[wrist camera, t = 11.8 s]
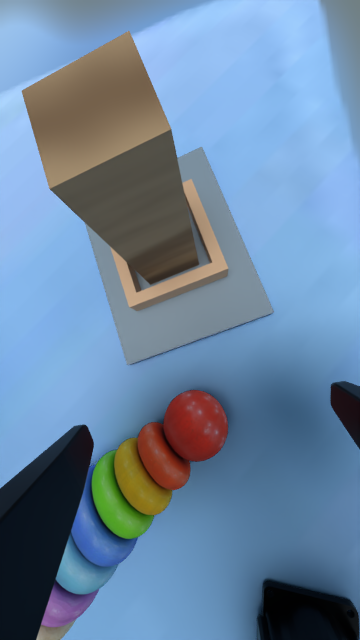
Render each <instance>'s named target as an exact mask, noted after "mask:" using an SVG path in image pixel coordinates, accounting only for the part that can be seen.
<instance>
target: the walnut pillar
mask: <svg viewBox="0 0 360 640" xmlns="http://www.w3.org/2000/svg"><path fill="white" fill-rule="evenodd" d="M22 94H23V97H24V101H25V104H26V108H27V111H28V115H29V118H30V122H31V125H32V129H33V132H34V136H35V139H36V143H37V146H38V150H39V153H40V157H41V160H42V164H43V168H44V171H45V175H46V178H47V182H48V185H49V189H50V190H51V191H52V192H53V193H54V194H56V195H57V196H58V197H59V198H60V199H61V200H62V201H63V202H64V203H65V204H66V205H67V206H68V207H69V208H70V209H71V210H72V211H73V212H74V213H75V214H77V215H78V216H79V217H80V218H81V219H82V220H83V221H84V222H85V223H86V224H87V225H88V226H89V227H90V228H91V229H92V230H93V231H94V232H95V233H97V234H98V235H99V236H100V237H101V238H102V239H103V240H104V241H105V242H106V243H107V244H108V245H109V246H110V247H111V248H112V249H113V250H114V251H115V252H116V253H118V254H119V255H120V256H121V257H122V258H123V259H124V260H125V261H126V262H127V263H128V264H129V265H130V266H131V267H132V268H133V269H134V270H135V271H136V272H137V273H139V274H140V275H141V276H142V277H143V278H144V279H145V280H146V281H147V282H148V283H149V284H150V285H152V284H154V283H156V282H159V281H161V280H164V279H166V278H168V277H171V276H173V275H176V274H178V273H181V272H183V271H185V270H188V269H190V268H193V267H195V266H198V265H199V261H198V256H197V251H196V247H195V242H194V237H193V232H192V227H191V222H190V218H189V213H188V208H187V203H186V198H185V194H184V189H183V184H182V179H181V174H180V169H179V165H178V160H177V155H176V150H175V145H174V140H173V136H172V131H171V128H170V125H169V123H168V120H167V118H166V116H165V113H164V111H163V109H162V106H161V104H160V102H159V99H158V97H157V95H156V92H155V90H154V88H153V85H152V83H151V81H150V78H149V76H148V74H147V71H146V69H145V67H144V64H143V62H142V60H141V57H140V55H139V53H138V50H137V48H136V46H135V43H134V41H133V38H132V36H131V34H130V32H129V31H128V32H126V33H124V34H123V35H121V36H119V37H117V38H115V39H114V40H112V41H110V42H108V43H106V44H105V45H103V46H101V47H99V48H98V49H96V50H94V51H92V52H91V53H88V54H87V55H85V56H83V57H81V58H80V59H78V60H76V61H74V62H72V63H71V64H69V65H67V66H65V67H63V68H62V69H60V70H58V71H56V72H54V73H53V74H51V75H49V76H47V77H45V78H44V79H42V80H40V81H38V82H36V83H35V84H33V85H31V86H29V87H27V88H26V89H24V90H22Z"/></svg>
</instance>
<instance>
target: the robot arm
mask: <svg viewBox="0 0 360 640" xmlns="http://www.w3.org/2000/svg"><path fill="white" fill-rule="evenodd" d="M330 401H331V406H332V408H333V410H334V412H335V413H336V415H337V416H338V418H339V419H340V421H341V422H342V424H343V425H344V427H345V428H346V430H347V431H348V433H349V434H350V436H351V437H352V439H353V440H354V442H355V443H356V445H357V446H358V448H359V449H360V386H357V385H354V384H352V383H349V382H346V381H341V382H335V383H332V384H331V400H330ZM93 447H94V442H93V439H92V436H91V434H90V432H89V429H88V427H87V426H86V425H78V426H74V427H73V428H71V429H70V430H69V431H68V432H67V433H66V434H64V435H63V436H62V437H61V438H60V439H58V440H57V441H56V442H55V443H54V444H52V445H51V446H50V447H49V448H48V449H47V450H45V451H44V452H43V453H42V454H41V455H39V456H38V457H37V458H36V459H35V460H34V461H32V462H31V463H30V464H29V465H28V466H26V467H25V468H24V469H23V470H22V471H20V472H19V473H18V474H17V475H16V476H15V477H13V478H12V479H11V480H10V481H9V482H7V483H6V484H5V485H4V486H3V487H2V488H0V640H36V639H37V636H38V633H39V630H40V627H41V623H42V620H43V617H44V614H45V611H46V608H47V605H48V602H49V598H50V595H51V592H52V589H53V586H54V583H55V580H56V577H57V573H58V570H59V567H60V564H61V561H62V558H63V555H64V552H65V548H66V545H67V542H68V539H69V536H70V533H71V530H72V527H73V523H74V520H75V517H76V514H77V511H78V508H79V505H80V502H81V498H82V495H83V491H84V487H85V483H86V479H87V474H88V470H89V465H90V461H91V456H92V452H93ZM268 590H271V591H272V592H268ZM348 610H351V611H348ZM257 640H359V615H358V612H357V610H356V608H355V606H354V604H353V603H352V602H351V601H349V600H347V599H342V598H338V597H334V596H330V595H326V594H321V593H317V592H313V591H309V590H305V589H300V588H296V587H292V586H288V585H284V584H279V583H275V582H271V581H266V582H264V584H263V591H262V615H261V614H259V616H258V617H257Z"/></svg>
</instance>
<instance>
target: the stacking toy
mask: <svg viewBox="0 0 360 640" xmlns="http://www.w3.org/2000/svg"><path fill="white" fill-rule="evenodd" d="M227 434H228V422H227V417H226V414H225V412H224V409H223V408H222V406H221V405H220V403H219V402H218V401H217V400H216V399H215V398H214V397H213V396H211V395H210V394H208V393H206V392H204V391H199V390H190V391H186V392H183V393H181V394H179V395H178V396H176V397H175V398H174V399H173V400H172V402H171V403H170V404H169V406H168V408H167V410H166V413H165V416H164V423H163V424H161V423H158V422H151V423H148V424H147V425H145V426H144V427H143V428H142V430H141V431H140V433H139V436H138V438H130V439H127V440H126V441H124V442H123V443H122V444H121V445H120V446H119V448H118V449H117V450H113V451H110V452H108V453H106V454H105V455H104V456H102V457H101V459H100V460H99V461H98V463H97V464H96V465H93V466H91V467H89V470H88V474H87V479H86V483H85V487H84V491H83V495H82V498H81V502H80V505H79V508H78V511H77V514H76V517H75V520H74V523H73V527H72V530H71V533H70V536H69V539H68V542H67V545H66V548H65V552H64V555H63V558H62V561H61V564H60V567H59V570H58V573H57V577H56V580H55V583H54V586H53V589H52V592H51V595H50V598H49V602H48V605H47V608H46V611H45V614H44V617H43V620H42V623H41V627H40V630H39V633H38V636H37V639H36V640H60V639H61V638H62V637H63V636H64V635H65V634H66V633H67V632H68V630H69V629H70V628H71V626H72V625H73V623H74V622H75V620H76V619H77V618H78V617H79V616H80V615H82V614H83V613H84V611H85V610H86V609H87V608H88V607H89V606H90V604H91V603H92V601H93V600H94V598H95V596H96V595H97V593H98V591H99V589H100V588H101V587H102V586H103V585H104V584H106V583H107V581H108V580H109V579H110V578H111V576H112V575H113V573H114V572H115V570H116V568H117V566H118V564H119V563H120V562H122V561H123V560H124V559H126V558H127V556H128V555H129V554H130V553H131V551H132V550H133V548H134V546H135V544H136V541H137V539H138V537H139V536H140V535H142V534H143V533H145V532H146V531H147V529H148V528H149V527H150V525H151V523H152V521H153V518H154V515H156V514H159V513H161V512H162V511H163V510H165V508H166V507H167V506H168V504H169V502H170V500H171V497H172V490H177V489H179V488H181V487H182V486H184V485H185V484H186V482H187V481H188V479H189V476H190V462H189V461H195V462H197V461H204V460H207V459H209V458H211V457H213V456H214V455H216V454H217V453H218V452H219V451H220V449H221V448H222V446H223V445H224V443H225V441H226V438H227Z"/></svg>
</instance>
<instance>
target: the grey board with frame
mask: <svg viewBox="0 0 360 640" xmlns="http://www.w3.org/2000/svg"><path fill="white" fill-rule="evenodd" d="M177 160H178V165H179V169H180V174H181V179H182V184H183V189H184V194H185V198H186V203H187V208H188V213H189V218H190V222H191V227H192V232H193V237H194V242H195V247H196V251H197V256H198V261H199V265H198V266H195V267H193V268H190V269H188V270H185V271H183V272H181V273H178V274H176V275H173V276H171V277H168V278H166V279H164V280H161V281H159V282H156V283H154V284H152V285H150V284H149V283H148V282H147V281H146V280H145V279H144V278H143V277H142V276H141V275H140V274H139V273H137V272H136V271H135V270H134V269H133V268H132V267H131V266H130V265H129V264H128V263H127V262H126V261H125V260H124V259H123V258H122V257H121V256H120V255H119V254H118V253H116V252H115V251H114V250H113V249H112V248H111V247H110V246H109V245H108V244H107V243H106V242H105V241H104V240H103V239H102V238H101V237H100V236H99V235H98V234H97V233H95V232H94V231H93V230H92V229H91V228H90V227H89V226H88V225H87V224H86V223H85V225H86V228H87V231H88V235H89V238H90V241H91V245H92V248H93V252H94V255H95V258H96V262H97V265H98V268H99V272H100V275H101V278H102V282H103V285H104V289H105V292H106V295H107V299H108V302H109V305H110V309H111V312H112V315H113V319H114V322H115V326H116V329H117V332H118V336H119V339H120V342H121V346H122V349H123V352H124V356H125V359H126V363H127V365H131V364H134V363H136V362H139V361H142V360H145V359H148V358H150V357H153V356H156V355H159V354H161V353H164V352H167V351H170V350H172V349H175V348H178V347H181V346H184V345H186V344H189V343H192V342H195V341H197V340H200V339H203V338H206V337H209V336H211V335H214V334H217V333H220V332H222V331H225V330H228V329H231V328H234V327H236V326H239V325H242V324H245V323H247V322H250V321H253V320H256V319H258V318H261V317H264V316H267V315H270V314H272V313H273V312H274V311H273V309H272V306H271V304H270V302H269V300H268V297H267V295H266V293H265V290H264V288H263V286H262V283H261V281H260V279H259V277H258V274H257V272H256V270H255V267H254V265H253V263H252V261H251V258H250V256H249V254H248V251H247V249H246V247H245V244H244V242H243V240H242V238H241V235H240V233H239V231H238V228H237V226H236V224H235V221H234V219H233V217H232V215H231V212H230V210H229V208H228V205H227V203H226V201H225V199H224V196H223V194H222V192H221V189H220V187H219V185H218V182H217V180H216V178H215V176H214V173H213V171H212V169H211V166H210V164H209V162H208V159H207V157H206V155H205V153H204V150H203V148H202V147H200V148H198V149H196V150H194V151H192V152H189V153H187V154H185V155H183V156H181V157H179V158H177Z"/></svg>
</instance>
